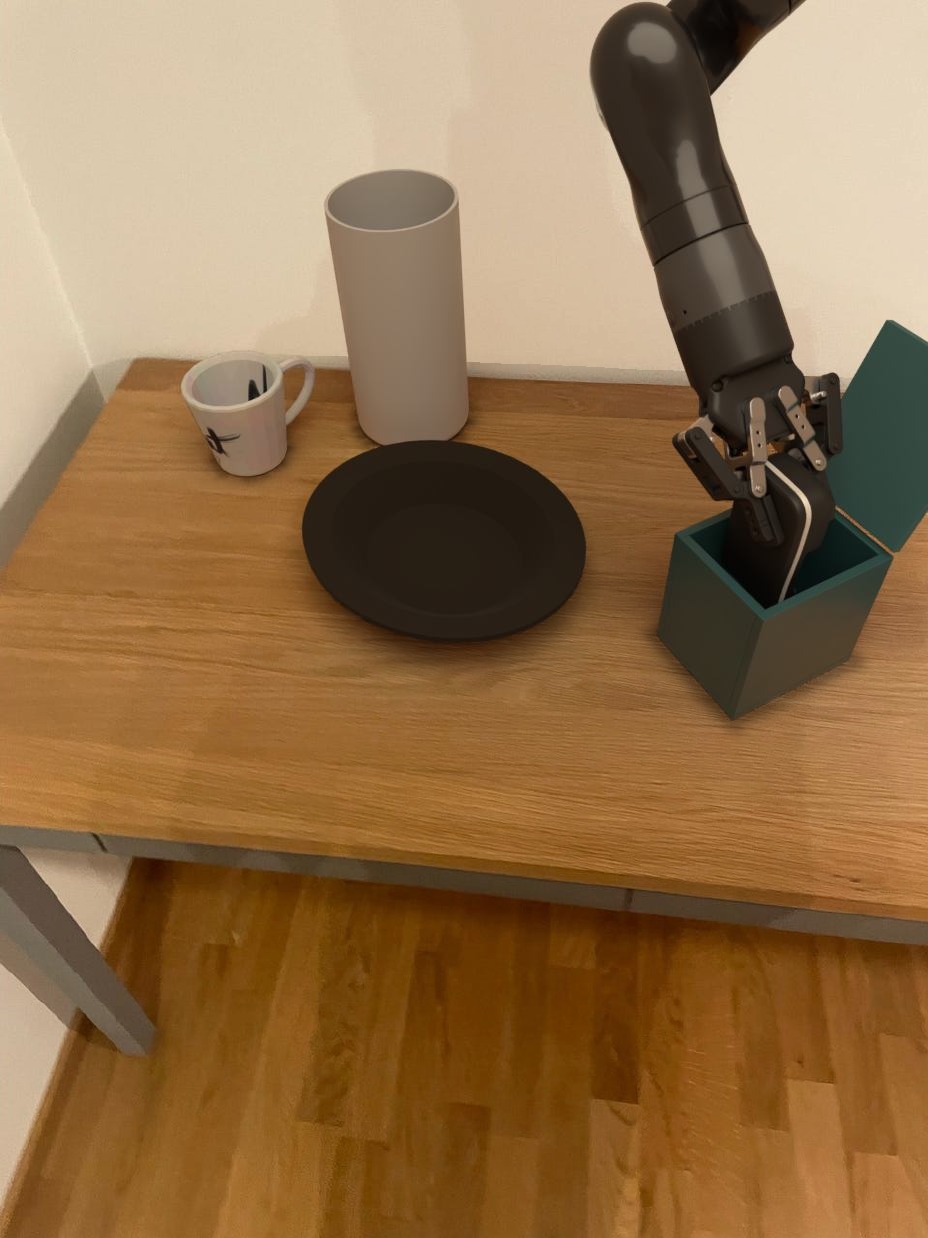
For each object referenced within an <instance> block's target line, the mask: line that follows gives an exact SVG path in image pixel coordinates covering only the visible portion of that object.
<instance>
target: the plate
mask: <svg viewBox="0 0 928 1238" xmlns="http://www.w3.org/2000/svg"><path fill="white" fill-rule="evenodd" d="M301 523H302V524H301V537H302V544H303V549H304V553H305V555H306V559H307V562H308V564H309V566H310V568H311V571H312V572H313V574H314V576H315V577H316V579H317V581H318V582H319V584H320V585H321V586H322V587H323V588H324V590H325V591H326V592H327V593H328V594H329V595H330V596H331V597H332V598H333V599H334V600H335V601H336V602H337V603H338V604H340V605H341V606H342V607H343V608H345V610H347V611H349V612H350V613H351V614H353V615H354V616H356V617H358V618H359V619H362V620H363V621H365V622H366V623H368V624H370V625H373V626H375V627H377V628H379V629H381V630H383V631H386V632H388V633H389V632H390V633H392V634H395V635H398V636H402V637H405V638H410V639H412V640H413V639H414V640H418V641H423V642H430V643H439V644H452V645H453V644H454V645H457V644H476V643H478V644H479V643H485V642H492V641H497V640H501V639H505V638H509V637H513V636H515V635H518V634H521V633H523V632H525V631H528V630H530V629H532V628H535V627H537V626H538V625H540V624H542V623H543V622H545V621H547V620H549V618H551V617H552V616H554V615H555V614H556V613H558V611H559V610H560V609H561V608H563V607H564V606H565V605H566V603H567V602H568V601H569V600H570V599H571V597H572V596H573V595H574V593H575V592H576V590H577V588H578V586H579V584H580V582H581V580H582V578H583V573H584V570H585V565H586V555H587V541H586V535H585V531H584V530H585V529H584V527H583V524H582V521H581V519H580V516H579V515H578V513H577V511H576V509H575V507H574V506H573V504H572V502H571V501H570V500H569V499H568V497H567V496H566V495H565V493H563V491H562V490H561V489H560V488H559V487H558V486H557V485H556V484H555V483H553V482H552V481H551V480H550V479H549V478H548V477H546V476H545V475H544V474H542V473H541V472H539V471H538V470H536V468H533V467H532V466H531V465H529V464H527V463H525V462H523V461H521V460H519V459H517V458H515V457H513V456H511V455H508V454H506V453H504V452H500V451H497V450H496V449H492V448H488V447H486V446H482V445H477V444H474V443H473V444H472V443H468V442H461V441H453V440H447V441H445V440H417V441H406V442H400V443H394V444H389V445H385V446H384V445H381V446H378V447H375V448H372V449H369V450H366V451H364V452H361V453H359V454H357V455H355V456H352V457H351V458H349V459H347V460H346V461H344V462H342V463H341V464H340V465H338V466H337V467H335V468H334V469H333V470H331V471H330V472H329V473H327V475H325V477H324V478H322V480H321V481H320V482H319V483H318V485H317V486H316V487H315V488H314V490H313V492H312V493H311V495H310V497H309V499H308V501H307V503H306V505H305V508H304V511H303V515H302V522H301Z"/></svg>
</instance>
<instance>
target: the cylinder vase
mask: <svg viewBox="0 0 928 1238" xmlns="http://www.w3.org/2000/svg"><path fill="white" fill-rule="evenodd" d="M324 198H325V199H324V201H323V209H324V216H325V222H326V228H327V235H328V239H329V240H328V241H329V246H330V247H329V248H330V252H331V259H332V265H333V271H334V278H335V284H336V289H337V296H338V301H339V302H338V303H339V307H340V309H339V310H340V314H341V320H342V326H343V334H344V338H345V347H346V351H347V358H348V363H349V370H350V376H351V381H352V388H353V389H352V390H353V394H354V401H355V407H356V413H357V419H358V424H359V425H360V428H361V429H362V431H363V433H364V434H365V435H366V436H367V437H368V438H369V439H370V440H372V441H374V442H375V443H376V444H379V445H381V446H385V445H389V444H394V443H400V442H406V441H417V440H445V441H450V439H453V438H454V437H455V436H456V435H457V434H459V432H460V431H462V429H463V428H464V426H465V424H466V423H467V421H468V417H469V414H470V401H469V383H468V381H469V380H468V362H467V360H468V359H467V341H466V340H467V339H466V321H465V319H466V318H465V303H464V302H465V300H464V299H465V298H464V281H463V280H464V279H463V261H462V258H463V257H462V240H461V239H462V238H461V222H460V221H461V220H460V218H461V217H460V201H459V199H460V198H459V191H458V188H457V187H456V185H455V184H454V183H452V181H451V180H449V179H448V178H446V177H444V176H442V175H439V174H436V173H434V172H430V171H425V170H421V169H411V168H390V169H380V170H375V171H369V172H366V173H362V174H358V175H355V176H353V177H350V178H348V179H346V180H344V181H342V182H341V183H339V184H337V185H336V186H335V187H333V188H332V189H331V190H330V191H329V192H328V193H327V194H326V197H324Z"/></svg>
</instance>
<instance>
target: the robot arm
mask: <svg viewBox="0 0 928 1238" xmlns="http://www.w3.org/2000/svg"><path fill="white" fill-rule="evenodd" d="M805 2H807V0H669V2H668V3H667V4H666V5H663V4H662V3H658V2H654V1H638V2H633V3H630V4H628V5H626V6H623V7H621V8H620V9H618V10H617V11H615V12H614V13H613V14H611V16H610V17H609V18H608V19H607V20H606V21H605V23H604V24H603V25H602V26H601V28H600V30H599V32H598V33H597V35H596V37H595V40H594V42H593V46H592V48H591V53H590V56H589V66H588V77H589V83H590V84H589V85H590V89H591V92H592V96H593V99H594V103H595V108H596V112H597V114H598V117H599V120H600V122H601V124H602V126H603V127H604V128H605V130H606V131H607V132H608V134H609V136H610V138H611V141H612V144H613V146H614V149H615V151H616V155H617V157H618V159H619V162H620V163H621V167H622V169H623V171H624V174H625V177H626V179H627V181H628V185H629V188H630V195H631V199H632V205H633V210H634V214H635V218H636V222H637V224H638V228H639V231H640V235H641V237H642V240H643V244H644V246H645V248H646V251H647V255H648V259H649V261H650V263H651V267H653V272H654V276H655V280H656V284H657V291H658V295H659V299H660V302H661V305H662V308H663V311H664V314H665V317H666V320H667V323H668V326H669V328H670V331H671V334H672V335H671V336H672V337H673V339H674V344H675V346H676V349H677V352H678V354H679V357H680V361H681V363H682V366H683V369H684V373H685V375H686V377H687V380H688V383H689V386H690V387H691V388H692V389H693V390H694V391H695V393H696V394H697V397H698V418H697V419H696V420H695V421H694V422H693V423H692V424H691V425H690V426H689V427H687V428H686V429H685V430H683V431H679V432H677V433H675V434H674V435H673V436H672V439H671V444H672V447H673V448H674V449H675V450H676V452H677V453H678V454H679V456H680V457H681V459H682V460H683V461H684V463H685V464H686V465H687V467H688V468H689V469H690V471H691V473H692V474H693V475H694V476H695V478H696V479H697V480H698V482H699V483H700V485H701V487H703V489H704V490H705V491H706V493H707V495H709V497H710V499H712V500H713V501H715V502H722V501H723V502H724V501H725V502H726V501H729V502H730V501H732V502H733V501H736V502H738V503H739V504H740V505H741V507H742V510H743V513H744V516H745V519H746V522H747V524H748V527H749V530H750V533H751V536H752V538H753V539H754V541H755V542H756V543H760V545H761V546H762V547H763V548H770V547H777V546H779V545H781V544H783V543H785V540H786V539H785V535H784V532H783V529H782V526H781V523H780V520H779V517H778V514H777V512H776V509H775V506H774V503H773V500H772V497H771V495H766V496H765V494H766V492H767V485H766V475H765V463H766V462H767V460H768V455H769V453H768V445H769V444H770V445H771V446H772V448H773V450H774V451H775V452H776V453H777V452H784V453H788V454H789V455H791V456H792V457H793V458H795V459H796V460H797V461H798V462H799V463H800V464H802V465H803V466H804V467H805V468H806V469H808V470H809V471H810V472H811V473H812V474H813V475H814V476H815V477H816V478H817V479H818V480H819V481H821V482H822V483H823V484H824V485H825V486H826V487H827V488H828V489H829V491H830V493H831V494H832V492H831V489H830V486H829V483H828V480H827V477H826V474H825V468H826V466H827V462H828V461H829V460H830V459H831V458H832V457H833V456H834V455H837V454H840V453H841V452H842V450H843V435H842V415H841V398H842V396H841V379H840V377H839V375H838V374H837V373H836V372H834V371H833V372H832V371H830V372H828V373H825V374H821V375H817V376H816V375H814V376H813V375H804V373H803V371H802V370H801V369H800V368H799V367H798V366H797V365H796V363H795V361H794V359H793V351H794V349H795V342H794V339H793V336H792V332H791V331H790V327H789V324H788V321H787V317H786V315H785V312H784V309H783V306H782V302H781V300H780V297H779V294H778V290H777V288H776V285H775V281H774V279H773V275H772V273H771V270H770V267H769V264H768V260H767V258H766V256H765V253H764V251H763V248H762V246H761V245H760V242H759V241H758V239H757V237H756V235H755V233H754V231H753V228H752V225H751V224H750V220H749V217H748V214H747V211H746V209H745V208H746V207H745V205H744V202H743V199H742V196H741V193H740V191H739V187H738V183H737V181H736V178H735V176H734V173H733V171H732V169H731V167H730V164H729V162H728V159H727V157H726V154H725V152H724V149H723V145H722V142H721V137H720V133H719V127H718V124H717V119H716V114H715V110H714V105H713V102H712V96H713V95H714V94H715V92H716V91H718V89H719V88H720V87H721V86H722V85H723V84H724V82H725V81H726V80H727V79H728V78H729V77H730V76H731V75H732V74H733V72H734V71H735V70H736V69H737V68H738V66H739V65H740V64H741V63H742V62H743V60H744V59H745V58H746V57H747V56H748V54H749V53H751V51H752V50H753V49H754V48H755V46H757V45H758V44H759V43H760V41H762V40H763V39H764V38H765V37H766V36H768V35H769V34H770V33H771V32H773V30H775V29H776V28H778V26H779V25H781V24H782V23H783V22H784V21H786V20H787V19H788V17H790V16H792V15H793V13H795V12H796V10H798V9H799V8H800V7H801V6H803V5H804V3H805ZM802 405H804V407H805V413H804V411H803V410H802ZM824 433H825V440H824ZM713 434H715V435H716V436H717V437H718V438H719V439H721V440H722V445H723V453H724V456H723V455H722V453H720V451H719V450H718V448H717V447H716V445H715V444H716V443H717V438H716V437H715V436H714V435H713ZM744 453H745V454H744ZM832 498H833V509H832V514H831V517H830V521H829V522H831V521H833V520H834V519H835V514H834V511H836V509H837V506H836V503H835V500H834V497H833V495H832Z"/></svg>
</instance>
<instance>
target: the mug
mask: <svg viewBox="0 0 928 1238" xmlns="http://www.w3.org/2000/svg"><path fill="white" fill-rule="evenodd" d="M294 368H301V369H302V370H303V371H304V381H303V385H302V388H301V390H300V392H299V394H298V396H297V397H296V399H295V401H294V402H293V403H292V405H291V406H290V407H289V408H288V409H287V410H286V401H285V400H286V399H285V380H284V375H285V374H287V373H288V372H289V371H291V370H292V369H294ZM315 382H316V369H315V366H314V365H313V364H312V363H311V362H310V360H309V359H308V358H307V357H304V356H300V355H296V356H292V357H288V358H286V359H284V360H282V361H280V362H279V363H278V361H277V360H276V359H275V358H274V357H272V356H270V355H268V354H265V353H264V352H260V351H259V352H258V351H254V350H231V351H225V352H220V353H217V354H214V355H212V356H209V357H205V358H204V359H202V360H201V361H199V362H197V363H196V364H194V365H193V366H192V367H191V368H190V369H189V370H188V371H187V372H186V373H185V374H184V376H183V378H182V381H181V384H180V391H181V397H182V398H183V400H184V402H185V404H186V406H187V408H188V409H189V412H190V413H191V415H192V417H193V419H194V421H195V423H196V424H197V427H198V428H199V430H200V432H201V434H202V436H203V438H204V439H205V441H206V444H207V445H208V447H209V449H210V451H211V452H212V454H213V456H214V458H215V460H216V462H217V464H218V465H219V466H220V467H221V469H222V470H223V471H224V472H226V473H228V474H230V475H233V476H238V477H255V476H260V475H263V474H265V473H268V472H271V471H272V470H274V469H275V468H276V467H278V466H279V465H280V464H281V463H282V462H283V460H284V459H285V458H286V454H287V450H288V446H287V445H288V440H287V426H289V425H290V424H291V423H292V422H293V421H294V420H295V419H296V418H297V417H298V415H300V413H301V412H302V410H303V409H304V408H305V406H306V404H307V403H308V401H309V399H310V398H311V395H312V393H313V391H314V387H315Z"/></svg>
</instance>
